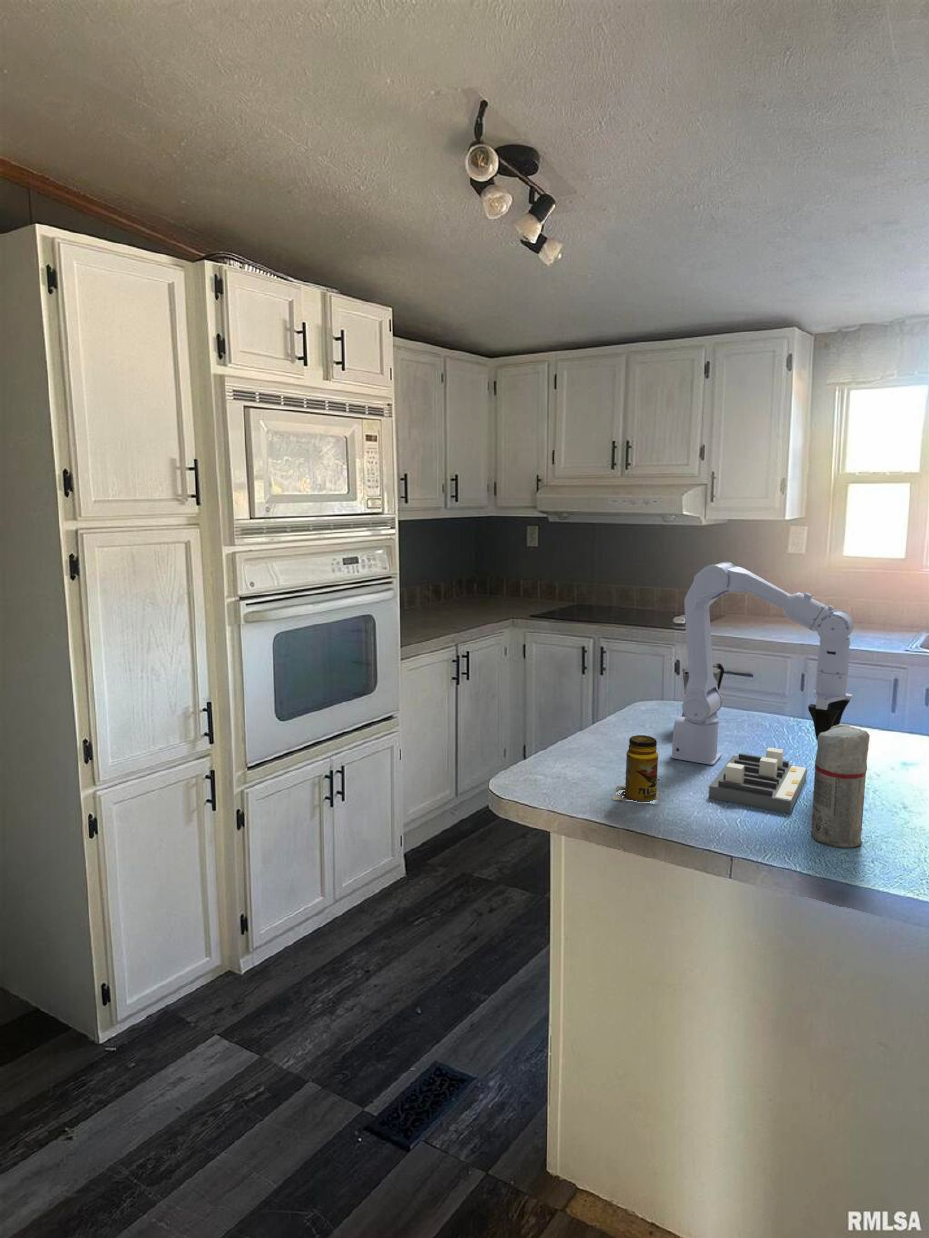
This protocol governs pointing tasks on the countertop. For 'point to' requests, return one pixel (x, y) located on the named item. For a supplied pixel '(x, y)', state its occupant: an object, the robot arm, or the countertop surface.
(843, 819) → the spray can
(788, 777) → the switch panel
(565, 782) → the countertop surface
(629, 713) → the countertop surface
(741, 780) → the tab front
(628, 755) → the condiment
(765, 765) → the tab middle
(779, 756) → the tab back
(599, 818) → the countertop surface
